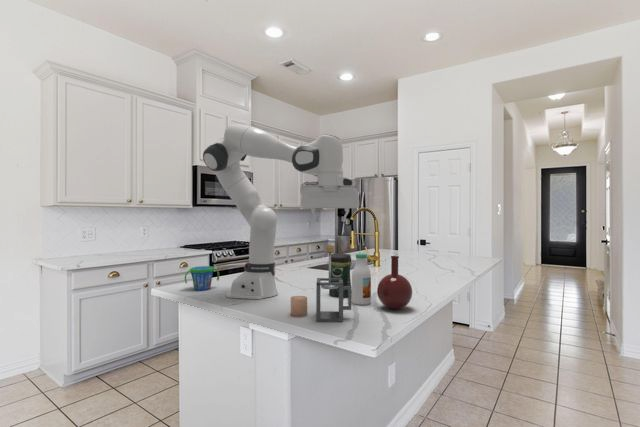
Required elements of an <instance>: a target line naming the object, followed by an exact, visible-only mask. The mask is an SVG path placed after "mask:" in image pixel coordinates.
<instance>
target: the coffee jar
mask: <svg viewBox="0 0 640 427" xmlns="http://www.w3.org/2000/svg"><path fill="white" fill-rule="evenodd" d="M351 266H352V256H351V254H350V253H338V252H337V253H336V252H335V253H331V278H342V280H343V286H351V287H352V279H351ZM331 282H338V283H339V281H331ZM328 290H329V291H328V292H329V294H328V295H329V296H332V297H337V298H339V285H338V288H337V289H328ZM351 295H352V289H351ZM346 297H347V298H348V290H343V298H346Z"/></svg>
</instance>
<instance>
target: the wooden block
mask: <svg viewBox="0 0 640 427" xmlns="http://www.w3.org/2000/svg"><path fill="white" fill-rule="evenodd" d="M290 316H291V317H295V318H299V317H301V318H302V317H305V316H308V296H306V295H305V296H303V295H295V296H294V295H293V296H290Z"/></svg>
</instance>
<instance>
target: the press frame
mask: <svg viewBox="0 0 640 427" xmlns="http://www.w3.org/2000/svg"><path fill="white" fill-rule="evenodd" d="M327 281H328V282H327ZM331 281H339V283H338V282H329V277H317V278H316V284H315V286H316V291H315V292H316V296H315V297H316V301H315V303H316V304H315V306H316V310H315V312H316V313H315V314H316V315H315V320H316V323H317V322H319V323H321V322H322V323H324V322H325V323H343V322H344V311H352V294H351V290H352V285H351V286H343V280H342V278H331ZM321 285H339V297H338V311H333V310H331V311H330V310H329V311H326V310H325V311H323V310H321ZM343 290H348V296H347V303H348V304H347V305H344V297H343Z"/></svg>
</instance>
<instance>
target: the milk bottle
mask: <svg viewBox="0 0 640 427" xmlns="http://www.w3.org/2000/svg"><path fill="white" fill-rule="evenodd" d="M355 260H356V262H355V265H354V267H353V269H352V272H351V290H352V294H351V304H353V305H357V306H368V305H370V304H371V302H372V300H371V299H372V274H371V271H370V270H371V269H370V267H369V266H368V261H367V260H368V254H367V253H362V252H361V253H356V254H355Z"/></svg>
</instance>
